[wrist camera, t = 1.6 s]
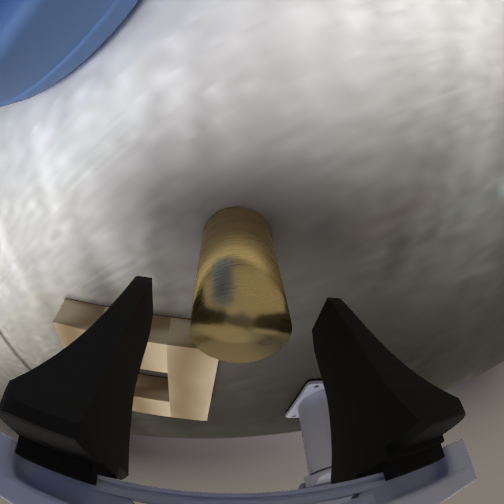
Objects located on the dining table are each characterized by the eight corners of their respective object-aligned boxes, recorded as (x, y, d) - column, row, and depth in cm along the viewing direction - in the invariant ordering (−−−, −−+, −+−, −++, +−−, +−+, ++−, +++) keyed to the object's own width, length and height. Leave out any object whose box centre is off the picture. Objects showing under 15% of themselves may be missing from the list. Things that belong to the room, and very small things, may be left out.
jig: (220, 323, 20) (220, 351, 18) (207, 399, 26) (206, 420, 24) (65, 298, 18) (52, 321, 16) (95, 381, 24) (89, 400, 22)
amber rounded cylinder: (277, 212, 16) (305, 301, 10) (262, 268, 18) (277, 365, 12) (207, 202, 15) (192, 289, 9) (199, 260, 17) (187, 358, 11)
